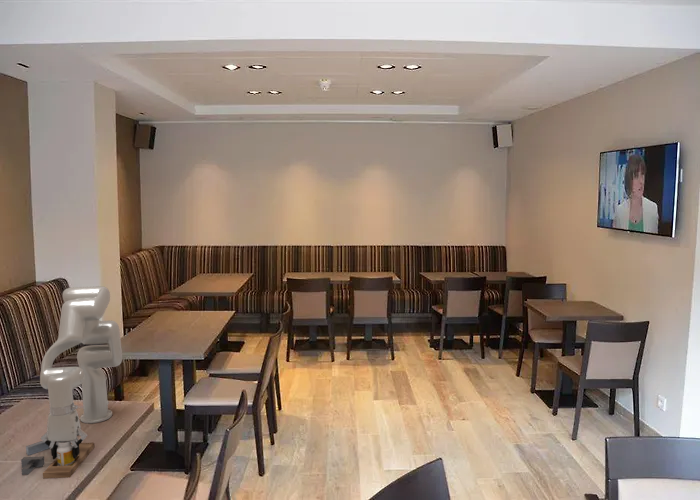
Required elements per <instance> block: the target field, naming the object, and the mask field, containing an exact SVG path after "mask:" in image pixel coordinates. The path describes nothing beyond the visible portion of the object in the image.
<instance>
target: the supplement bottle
mask: <svg viewBox="0 0 700 500" xmlns="http://www.w3.org/2000/svg"><path fill="white" fill-rule="evenodd" d="M58 445H59V447H58V448H57V457H56V458H57V460H58V466H72V465H73V464H74V463H75V459H74V458H73V451H72V448H73V445H72V444H71V441H58Z"/></svg>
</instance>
